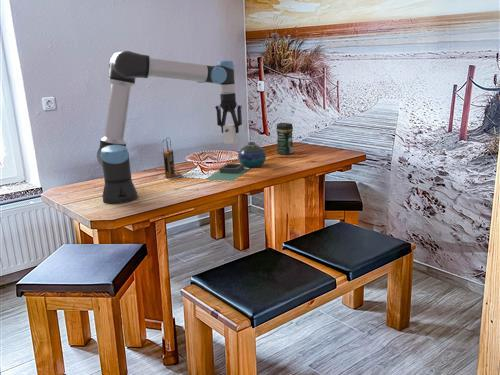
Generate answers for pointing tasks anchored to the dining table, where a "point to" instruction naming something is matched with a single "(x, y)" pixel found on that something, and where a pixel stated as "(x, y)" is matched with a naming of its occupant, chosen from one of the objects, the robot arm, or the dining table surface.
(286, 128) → the coffee jar
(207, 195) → the dining table surface
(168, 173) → the multimeter
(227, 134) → the plug
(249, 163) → the vase
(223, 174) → the board
